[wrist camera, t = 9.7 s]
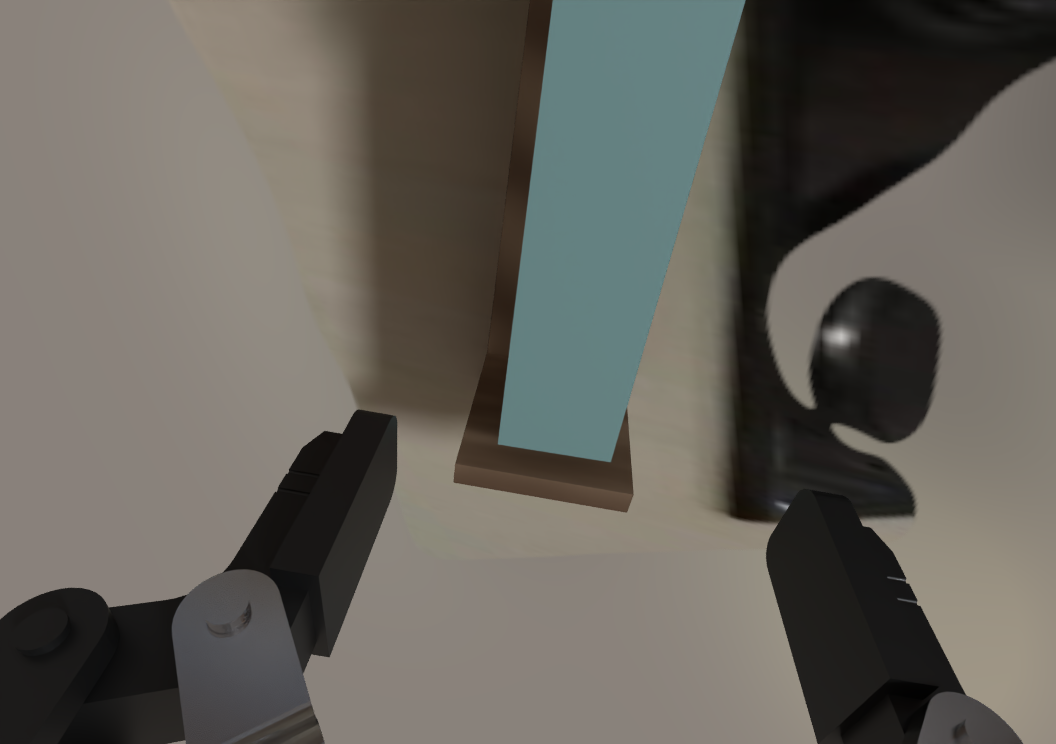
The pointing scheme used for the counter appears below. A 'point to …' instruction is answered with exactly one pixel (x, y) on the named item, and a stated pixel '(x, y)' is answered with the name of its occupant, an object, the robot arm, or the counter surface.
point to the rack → (479, 446)
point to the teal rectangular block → (606, 208)
